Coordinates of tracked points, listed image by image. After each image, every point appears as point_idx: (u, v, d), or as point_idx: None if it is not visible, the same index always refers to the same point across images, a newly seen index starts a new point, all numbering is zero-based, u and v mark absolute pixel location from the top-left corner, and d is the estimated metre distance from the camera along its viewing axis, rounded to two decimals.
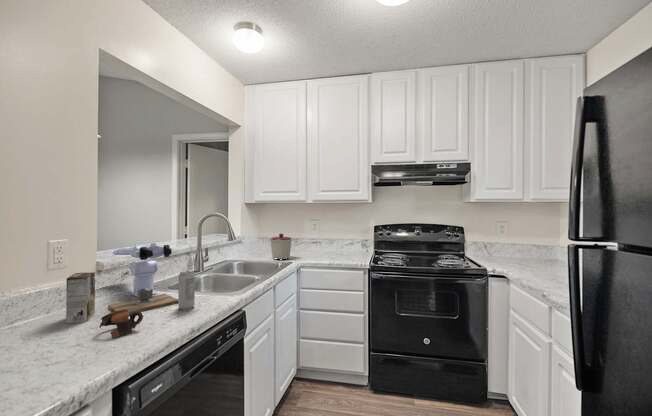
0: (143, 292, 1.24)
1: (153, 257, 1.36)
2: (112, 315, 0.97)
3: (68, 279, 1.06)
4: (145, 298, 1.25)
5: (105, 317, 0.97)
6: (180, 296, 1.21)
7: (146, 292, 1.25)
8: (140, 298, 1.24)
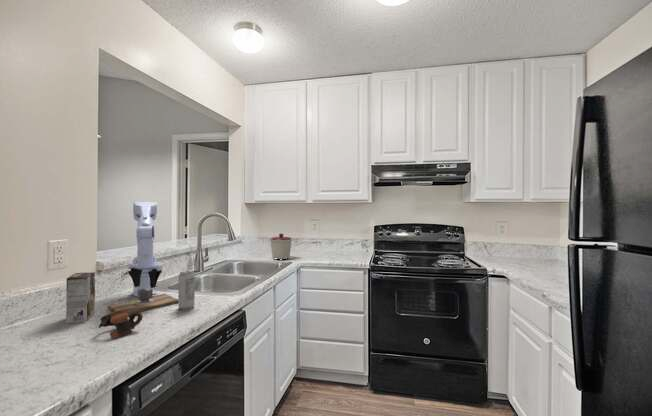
0: (143, 292, 1.24)
1: None
2: (111, 316, 0.96)
3: (68, 279, 1.06)
4: (145, 298, 1.25)
5: (104, 318, 0.96)
6: (180, 296, 1.21)
7: (146, 292, 1.25)
8: (140, 298, 1.24)
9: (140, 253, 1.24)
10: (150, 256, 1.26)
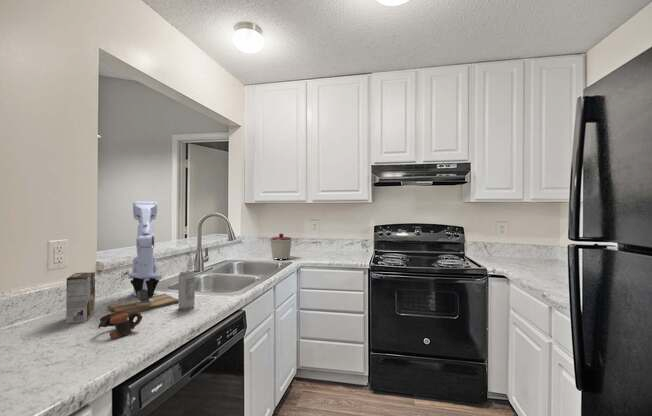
0: (143, 292, 1.24)
1: None
2: (111, 316, 0.96)
3: (68, 279, 1.06)
4: (145, 298, 1.25)
5: (104, 318, 0.96)
6: (180, 296, 1.21)
7: (146, 292, 1.25)
8: (140, 298, 1.24)
9: (140, 262, 1.24)
10: (150, 265, 1.26)
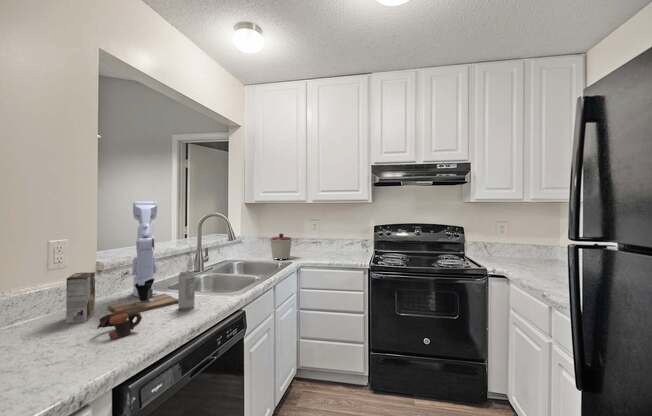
0: None
1: None
2: (110, 316, 0.96)
3: (68, 279, 1.06)
4: (139, 298, 1.24)
5: (103, 318, 0.95)
6: (180, 296, 1.21)
7: None
8: (137, 297, 1.25)
9: (140, 265, 1.24)
10: (142, 269, 1.24)
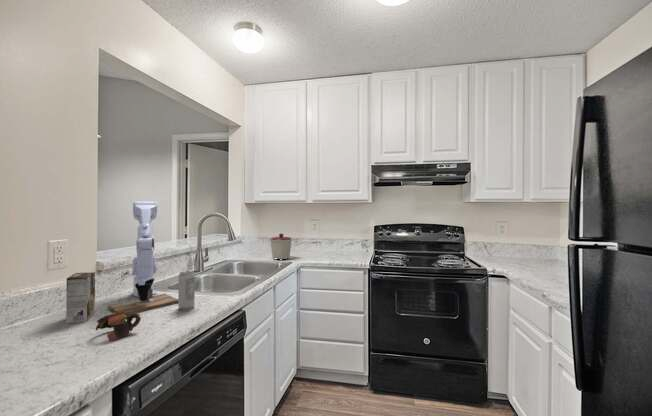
0: None
1: None
2: (109, 317, 0.95)
3: (68, 279, 1.06)
4: None
5: (101, 320, 0.94)
6: (180, 296, 1.21)
7: None
8: None
9: (140, 265, 1.24)
10: (142, 268, 1.24)
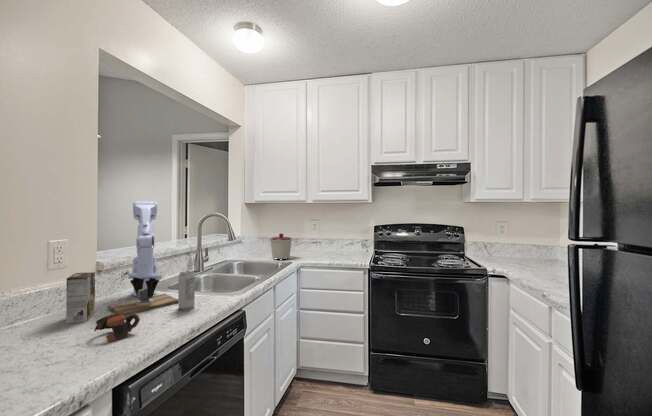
0: None
1: None
2: (107, 318, 0.94)
3: (68, 279, 1.06)
4: None
5: (100, 320, 0.94)
6: (180, 296, 1.21)
7: None
8: None
9: (140, 262, 1.24)
10: (150, 265, 1.26)
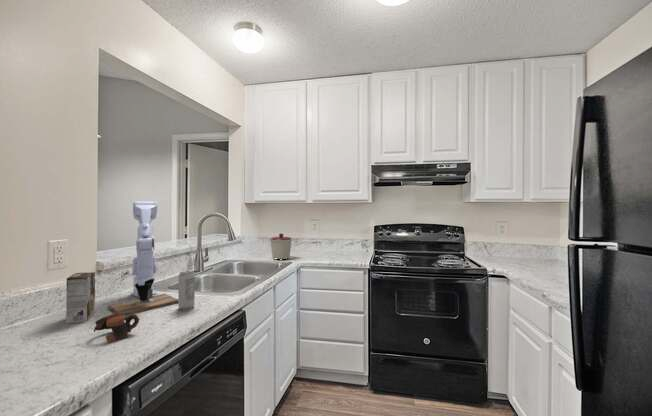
0: None
1: None
2: (107, 319, 0.94)
3: (68, 279, 1.06)
4: None
5: (100, 321, 0.93)
6: (180, 296, 1.21)
7: None
8: None
9: (140, 265, 1.24)
10: (142, 269, 1.24)
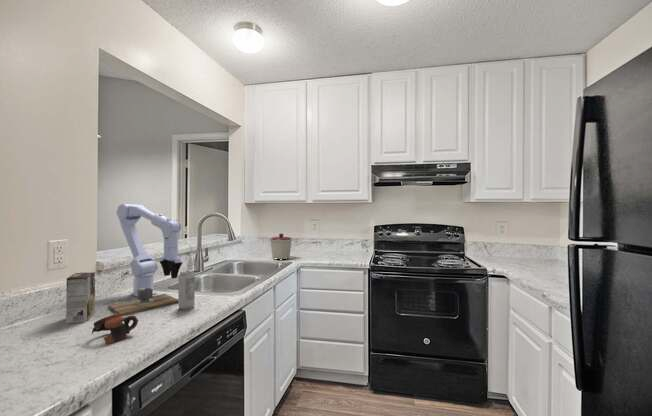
0: None
1: None
2: (105, 320, 0.93)
3: (68, 279, 1.06)
4: None
5: (98, 322, 0.92)
6: (180, 296, 1.21)
7: None
8: None
9: (171, 245, 1.36)
10: (172, 249, 1.36)
